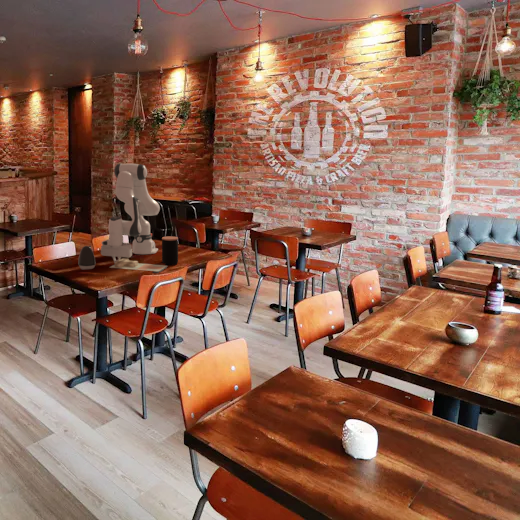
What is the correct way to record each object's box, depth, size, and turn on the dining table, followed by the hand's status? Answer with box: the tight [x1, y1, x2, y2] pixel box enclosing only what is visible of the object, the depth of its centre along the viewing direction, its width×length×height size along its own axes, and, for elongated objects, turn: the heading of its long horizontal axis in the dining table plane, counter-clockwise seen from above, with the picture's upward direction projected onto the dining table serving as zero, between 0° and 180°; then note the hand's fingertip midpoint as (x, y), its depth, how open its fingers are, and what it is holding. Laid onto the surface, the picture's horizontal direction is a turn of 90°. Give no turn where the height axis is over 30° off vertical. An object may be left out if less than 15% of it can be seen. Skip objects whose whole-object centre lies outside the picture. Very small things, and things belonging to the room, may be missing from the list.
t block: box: [114, 257, 139, 267], centre depth 300 cm, size 12×12×3 cm
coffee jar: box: [161, 235, 179, 266], centre depth 312 cm, size 11×11×18 cm
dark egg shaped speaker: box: [77, 245, 97, 271], centre depth 289 cm, size 10×10×15 cm
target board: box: [109, 262, 169, 274], centre depth 299 cm, size 16×33×1 cm, turn 81°
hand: (116, 263), depth 301 cm, fingers closed
